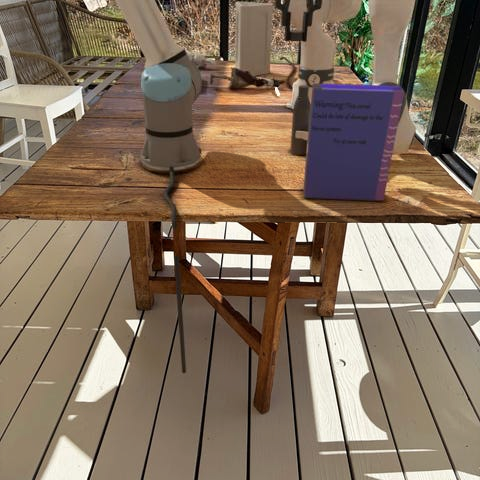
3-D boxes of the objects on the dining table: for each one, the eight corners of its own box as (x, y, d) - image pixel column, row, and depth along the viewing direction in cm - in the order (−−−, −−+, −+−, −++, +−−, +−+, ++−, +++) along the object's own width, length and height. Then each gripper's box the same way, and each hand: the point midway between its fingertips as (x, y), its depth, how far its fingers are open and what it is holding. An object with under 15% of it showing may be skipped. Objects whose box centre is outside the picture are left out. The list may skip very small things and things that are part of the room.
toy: (171, 74, 211) (170, 58, 208) (148, 64, 229) (146, 49, 225) (218, 68, 223) (218, 53, 219) (192, 59, 240) (192, 44, 237)
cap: (294, 38, 121) (294, 29, 120) (306, 40, 118) (306, 31, 117) (284, 39, 118) (285, 31, 117) (296, 41, 116) (297, 33, 115)
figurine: (210, 87, 179) (288, 95, 182) (212, 65, 176) (291, 73, 180) (208, 84, 201) (278, 91, 205) (210, 64, 198) (280, 71, 202)
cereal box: (379, 191, 109) (398, 84, 97) (383, 201, 105) (404, 90, 93) (303, 188, 110) (312, 82, 98) (304, 197, 106) (314, 88, 94)
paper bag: (273, 76, 210) (276, 6, 196) (239, 77, 209) (240, 6, 194) (266, 67, 226) (268, 2, 212) (235, 67, 225) (235, 1, 210)
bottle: (309, 150, 132) (315, 85, 123) (304, 156, 129) (309, 89, 119) (293, 148, 134) (298, 83, 125) (287, 153, 130) (292, 87, 121)
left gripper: (269, -74, 102) (263, 42, 114) (345, -72, 104) (331, 43, 116) (264, -73, 109) (259, 38, 121) (336, -70, 110) (324, 38, 122)
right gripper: (351, 111, 133) (302, 108, 135) (350, 135, 116) (293, 130, 118) (348, 133, 136) (300, 129, 138) (346, 159, 119) (291, 154, 121)
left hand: (295, 40), depth 118 cm, fingers closed on cap, 4 cm apart
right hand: (297, 130), depth 128 cm, fingers closed on bottle, 4 cm apart
